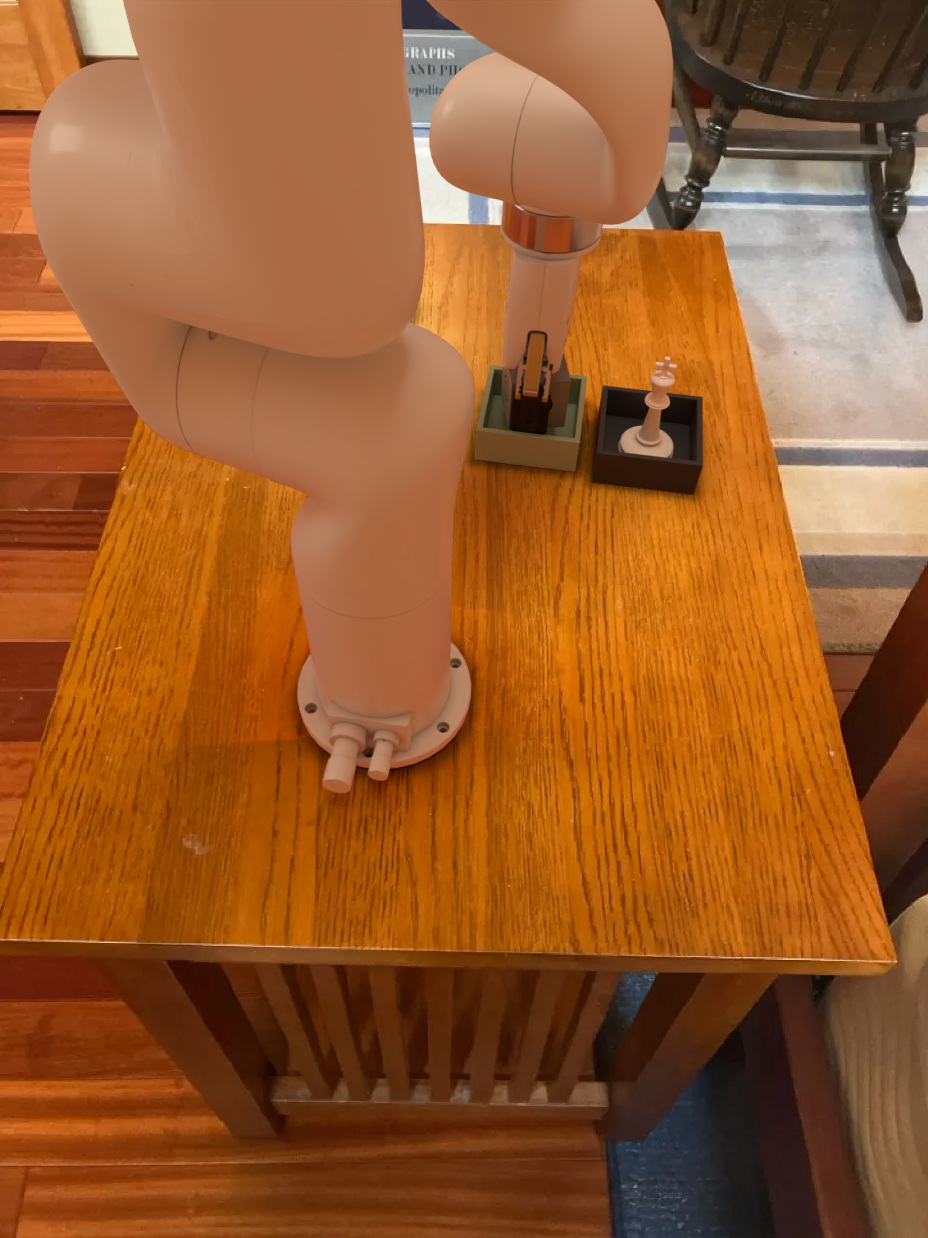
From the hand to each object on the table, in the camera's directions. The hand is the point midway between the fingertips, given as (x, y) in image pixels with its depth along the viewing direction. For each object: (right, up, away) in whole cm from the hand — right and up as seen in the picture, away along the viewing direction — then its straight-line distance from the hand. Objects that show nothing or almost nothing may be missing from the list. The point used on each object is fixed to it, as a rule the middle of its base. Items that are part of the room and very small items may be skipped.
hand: (532, 404), depth 83 cm
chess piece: (+10, -4, +1) cm, 11 cm away
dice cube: (0, 0, +1) cm, 1 cm away
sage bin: (0, -2, +3) cm, 3 cm away
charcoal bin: (+10, -4, +2) cm, 11 cm away
